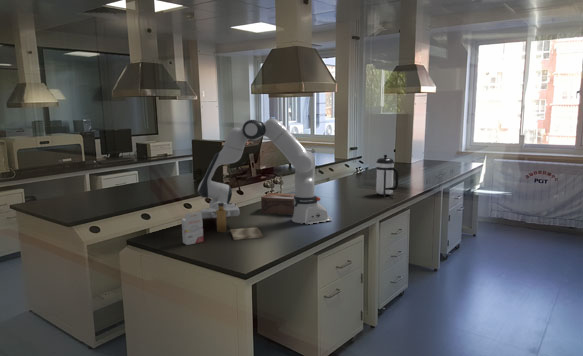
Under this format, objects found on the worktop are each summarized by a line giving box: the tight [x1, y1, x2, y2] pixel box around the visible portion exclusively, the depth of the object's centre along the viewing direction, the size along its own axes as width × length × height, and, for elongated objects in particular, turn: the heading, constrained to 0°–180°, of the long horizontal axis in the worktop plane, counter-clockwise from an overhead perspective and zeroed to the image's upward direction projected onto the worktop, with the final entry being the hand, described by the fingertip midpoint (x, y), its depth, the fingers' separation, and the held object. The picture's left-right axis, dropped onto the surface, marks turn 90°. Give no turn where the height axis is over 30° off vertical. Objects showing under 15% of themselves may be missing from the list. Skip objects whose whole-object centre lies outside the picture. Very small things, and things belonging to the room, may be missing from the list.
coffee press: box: [374, 154, 399, 196], centre depth 294 cm, size 17×16×30 cm
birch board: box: [230, 226, 263, 241], centre depth 201 cm, size 14×14×1 cm
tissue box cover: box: [260, 192, 295, 215], centre depth 247 cm, size 26×14×10 cm, turn 73°
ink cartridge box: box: [181, 211, 204, 246], centre depth 188 cm, size 9×5×15 cm, turn 126°
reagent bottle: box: [216, 203, 227, 233], centre depth 206 cm, size 5×5×15 cm
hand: (221, 216), depth 205 cm, fingers closed on reagent bottle, 5 cm apart
